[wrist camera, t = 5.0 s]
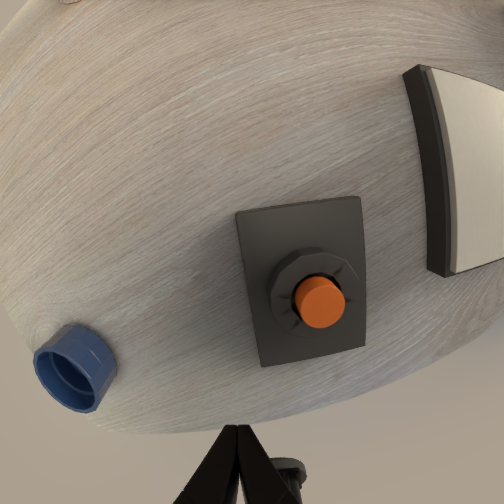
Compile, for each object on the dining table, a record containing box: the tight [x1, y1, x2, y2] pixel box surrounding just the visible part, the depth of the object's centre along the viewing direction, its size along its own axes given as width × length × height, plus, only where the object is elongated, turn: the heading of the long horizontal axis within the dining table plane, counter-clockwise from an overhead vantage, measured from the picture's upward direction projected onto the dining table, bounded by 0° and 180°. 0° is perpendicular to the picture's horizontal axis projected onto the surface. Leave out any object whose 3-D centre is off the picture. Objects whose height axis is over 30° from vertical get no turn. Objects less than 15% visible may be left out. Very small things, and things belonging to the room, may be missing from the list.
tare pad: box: [235, 196, 366, 367], centre depth 17 cm, size 11×8×3 cm
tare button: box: [295, 276, 345, 328], centre depth 15 cm, size 3×3×2 cm
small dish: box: [33, 325, 117, 413], centre depth 17 cm, size 6×6×4 cm
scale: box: [403, 64, 504, 278], centre depth 16 cm, size 16×15×3 cm
